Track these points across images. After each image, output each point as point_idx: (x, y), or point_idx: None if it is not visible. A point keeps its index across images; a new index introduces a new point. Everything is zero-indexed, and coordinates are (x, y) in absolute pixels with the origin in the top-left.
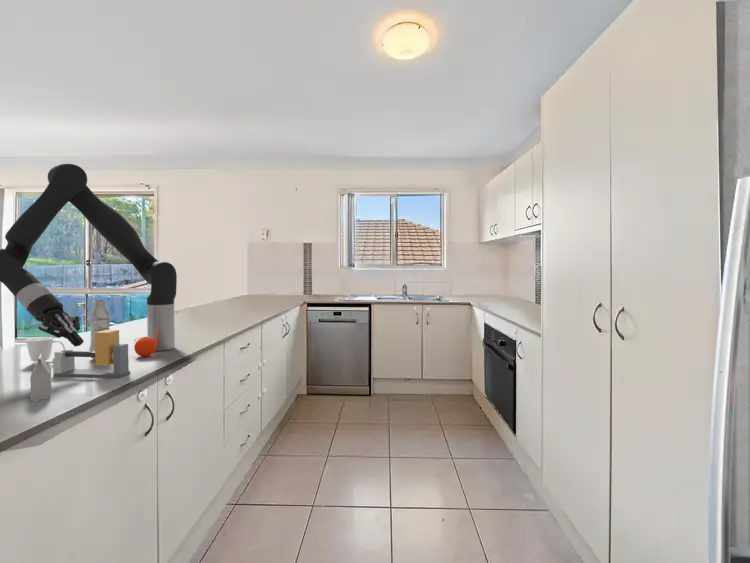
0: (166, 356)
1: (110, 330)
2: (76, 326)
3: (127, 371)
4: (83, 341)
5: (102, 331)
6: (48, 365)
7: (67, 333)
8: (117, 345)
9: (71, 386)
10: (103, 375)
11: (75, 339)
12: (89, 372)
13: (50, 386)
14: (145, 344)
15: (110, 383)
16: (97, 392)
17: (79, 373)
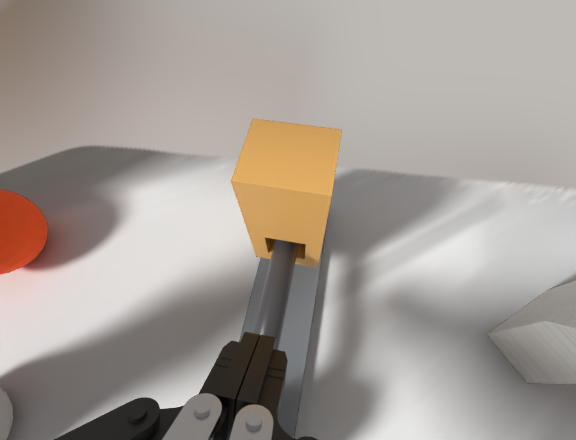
0: (60, 184)
1: (260, 150)
2: (128, 433)
3: None
4: (246, 332)
5: (295, 172)
6: (569, 323)
7: (278, 432)
8: None
9: (426, 300)
10: (322, 251)
11: (275, 366)
12: (287, 316)
13: (568, 285)
14: (19, 210)
15: (384, 205)
16: (467, 198)
17: (300, 347)
